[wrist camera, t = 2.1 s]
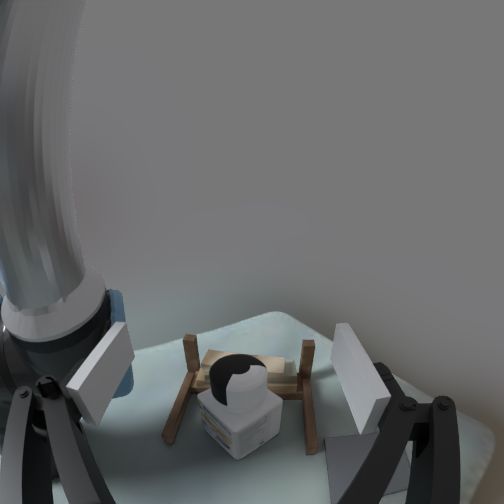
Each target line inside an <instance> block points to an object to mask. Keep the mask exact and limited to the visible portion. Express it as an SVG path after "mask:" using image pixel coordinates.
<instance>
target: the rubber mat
mask: <svg viewBox="0 0 504 504" xmlns="http://www.w3.org/2000/svg"><path fill="white" fill-rule="evenodd" d="M379 432H380V431H379ZM379 432H373V433H369V434H364V435H360V434H359V435H352V436H343V437H332V438H324V444H325V452H326V460H327V469H328V478H329V487H330V498H331V504H337V502H338V501H339V500H340V498H341V497H342V495H343V494H344V492H345V491H346V489H347V488H348V486H349V485H350V483H351V482H352V480H353V479H354V477H355V475H356V474H357V472H358V471H359V469H360V467H361V466H362V464H363V462H364V460H365V459H366V457H367V455H368V453H369V451H370V450H371V448H372V446H373V444H374V442H375V440H376V438H377V436H378V434H379ZM410 470H411V469H410V466H409V463H408V460H407V457H406V454H405V451H404V452H403V454H402V457H401V459H400V461H399V464H398V466H397V468H396V470H395V473H394V475H393V477H392V479H391V481H390V483H389V485H388V487H387V489H386V491H385V493H384V495H383V496H385V495H389V494H393V493H396V492H400V491H403V490H407V489H408V485H409V478H410Z"/></svg>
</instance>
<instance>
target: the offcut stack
mask: <svg viewBox="0 0 504 504" xmlns="http://www.w3.org/2000/svg"><path fill="white" fill-rule="evenodd" d="M231 354H239V353H230V352H222V351H214V350H208V351H207V353H206V355H205V357H204V359H203V361H202V363H201V368H200V370H199V373H198V376H197V379H196V383H197V386H198V387H206V388H211V385H210V377H209V370H210V368H211V366H212V365H213V364H214V363H215V362H216V361H217V360H218V359H220V358H222V357H224V356H227V355H231ZM246 355H248V354H246ZM250 356H253V357H256V358H257V359H259V360H260V361H261V362H263V363H264V365H265V366H266V368H267V371H268V375H267V389H269V390H270V391H271V392H296V390H297V372H296V367H295V362H294V360H285V358H284V357H270V356H258V355H250Z"/></svg>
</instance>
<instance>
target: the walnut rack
mask: <svg viewBox="0 0 504 504" xmlns="http://www.w3.org/2000/svg"><path fill="white" fill-rule="evenodd" d="M183 345H184V351H185V357H186V363H187V369H188V372H187V374H186V377H185V379H184V381H183V384H182V386H181V389H180V391H179V393H178V396H177V398H176V401H175V403H174V405H173V408H172V410H171V413H170V415H169V418H168V420H167V422H166V425H165V427H164V430H163V432H162V437H163V439H164V442H166V443H170V444H173V442H174V439H175V437H176V434H177V431H178V428H179V426H180V423H181V420H182V417H183V414H184V412H185V409H186V406H187V403H188V401H189V398H190V395H191V393H195V394H199V393H201V392H203V391H206V390H208V389H210V388H206V387H198V386H197V383H196V379H197V376H198V373H199V370H200V368H201V367H200V360H199V353H198V345H197V337H196V335H189V334H186V335H185V337H184V339H183ZM314 351H315V343H314V340H303V342H302V351H301V359H300V367H299V373H297V390H296V392H273V393H274V394H276V395H277V396H279V397H280V398H282V399H283V400H302V404H303V416H304V428H305V442H306V455H312V454H316V451H317V448H318V443H317V434H316V425H315V417H314V409H313V401H312V393H311V385H310V376H311V370H312V364H313V358H314Z"/></svg>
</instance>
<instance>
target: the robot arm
mask: <svg viewBox="0 0 504 504" xmlns="http://www.w3.org/2000/svg"><path fill="white" fill-rule="evenodd" d="M87 2H88V0H0V281H1V283H2V286H3V288H4V291H5V293H6V294H5V297H4V299H3V298H2V296H1V295H0V454H1V456H2V458H1V468H0V504H54V503H53V493H52V479H53V478H55V477H57V476H59V477H60V480H61V483H62V486H63V488H64V491H65V494H66V497H67V499H68V502H69V504H116V503H115V501H114V499H113V497H112V495H111V493H110V492H109V490H108V488H107V486H106V484H105V482H104V479H103V477H102V475H101V473H100V471H99V469H98V466H97V464H96V462H95V459H94V457H93V454H92V452H91V449H90V447H89V444H88V442H87V439H86V436H85V433H84V430H83V427H82V424H81V423H80V421H79V420H80V418H81V417H83V419H84V421H85V422H86V423H88V424H91V425H94V426H98V425H99V423H100V421H101V419H102V417H103V415H104V413H105V411H106V409H107V407H108V405H109V403H110V401H111V399H113V398H118V397H123V396H126V395H128V394H129V393H130V392H131V391H132V389H133V385H134V380H133V372H132V365H131V363H132V361H133V359H134V357H135V355H134V352H133V348H132V344H131V340H130V336H129V332H128V329H127V324H126V320H125V313H124V304H123V297H122V294H121V292H120V291H118V290H112V289H108V290H106V288H105V283H104V280H103V278H102V276H101V274H100V273H99V272H98V271H97V270H96V269H95V268H93V267H91V266H90V265H88V264H86V263H84V259H83V255H82V250H81V244H80V239H79V233H78V227H77V221H76V213H75V205H74V196H73V186H72V173H71V154H70V115H71V97H72V85H73V84H72V83H73V75H74V66H75V59H76V53H77V47H78V41H79V36H80V31H81V26H82V22H83V18H84V14H85V10H86V6H87ZM330 359H331V362H332V364H333V367H334V369H335V372H336V374H337V377H338V379H339V382H340V384H341V387H342V389H343V392H344V394H345V397H346V399H347V402H348V404H349V407H350V410H351V412H352V415H353V417H354V420H355V423H356V425H357V428H358V431H359V433H360V435H364V434H369V433H373V432H375V430H376V428H377V426H378V427H379V429H380V432H379V434H378V436H377V438H376V440H375V442H374V444H373V446H372V448H371V450H370V451H369V453H368V455H367V457H366V459H365V460H364V462H363V464H362V466H361V467H360V469H359V471H358V472H357V474H356V475H355V477H354V479H353V480H352V482H351V483H350V485H349V486H348V488H347V489H346V491H345V492H344V494H343V495H342V497H341V498H340V500H339V501H338V502H337V504H379V502H380V500H381V498H382V497H383V495H384V493H385V491H386V489H387V487H388V485H389V483H390V481H391V479H392V477H393V475H394V473H395V470H396V468H397V466H398V464H399V461H400V459H401V457H402V454H403V452H404V450H405V447H406V444H407V442H408V441H413V450H412V461H411V470H410V478H409V485H408V491H407V497H406V503H405V504H459V501H460V447H459V434H458V424H457V416H456V408H455V404H454V401H453V400H452V399H451V398H449V397H447V396H438V397H436V398H435V399H434V400H433V402H432V403H426V404H420V403H418V402H417V401H416V400H415V399H413V398H411V397H407V396H405V394H404V393H403V391H402V389H401V388H400V386H399V384H398V383H397V381H396V380H395V379H394V377H393V375H392V374H391V372H390V370H389V369H388V368H387V366H385V365H384V364H382V363H381V362H379V363H373V364H372V362H371V360H370V359H369V357H368V355H367V353H366V352H365V350H364V348H363V347H362V345H361V344H360V342H359V340H358V339H357V337H356V335H355V334H354V332H353V330H352V329H351V327H350V326H349V324H348V323H341V324H336V330H335V335H334V341H333V347H332V352H331V358H330Z"/></svg>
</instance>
